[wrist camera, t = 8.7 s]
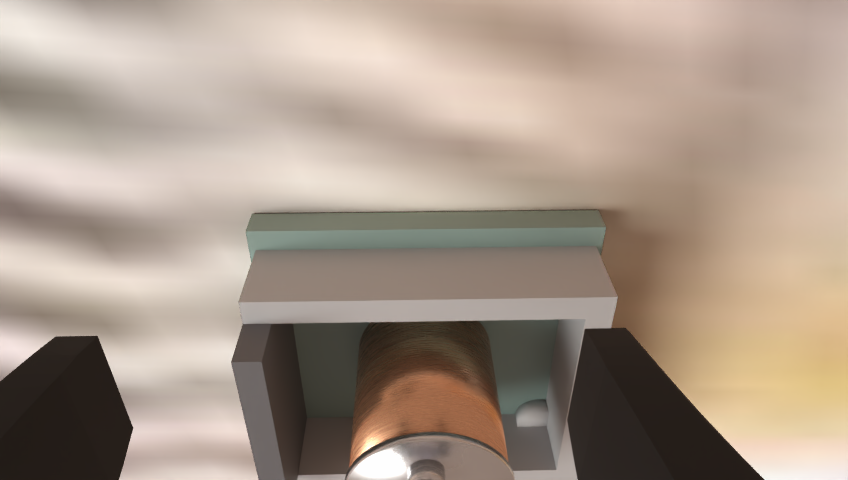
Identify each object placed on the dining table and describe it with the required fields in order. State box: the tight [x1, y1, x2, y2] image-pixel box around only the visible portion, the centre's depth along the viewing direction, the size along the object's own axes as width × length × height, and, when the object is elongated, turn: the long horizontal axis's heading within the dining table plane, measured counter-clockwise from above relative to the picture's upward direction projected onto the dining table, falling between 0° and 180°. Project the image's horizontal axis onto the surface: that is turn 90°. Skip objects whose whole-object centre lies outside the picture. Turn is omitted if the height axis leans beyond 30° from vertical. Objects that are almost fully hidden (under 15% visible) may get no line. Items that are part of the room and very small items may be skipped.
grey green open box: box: [231, 210, 618, 480], centre depth 21 cm, size 10×11×5 cm
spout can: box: [345, 321, 515, 480], centre depth 20 cm, size 5×5×6 cm
